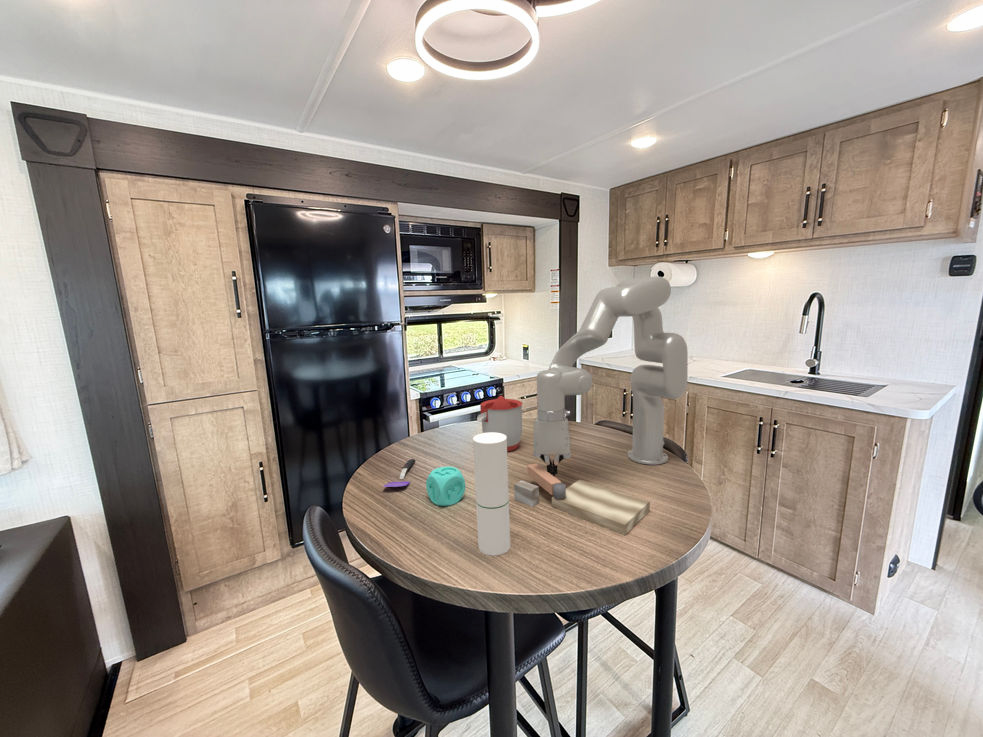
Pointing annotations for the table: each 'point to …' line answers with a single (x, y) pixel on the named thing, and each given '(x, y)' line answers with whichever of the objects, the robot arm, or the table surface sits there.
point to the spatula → (405, 468)
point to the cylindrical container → (492, 492)
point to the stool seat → (592, 504)
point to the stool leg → (547, 481)
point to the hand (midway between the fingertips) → (552, 476)
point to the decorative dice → (445, 486)
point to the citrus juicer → (503, 419)
